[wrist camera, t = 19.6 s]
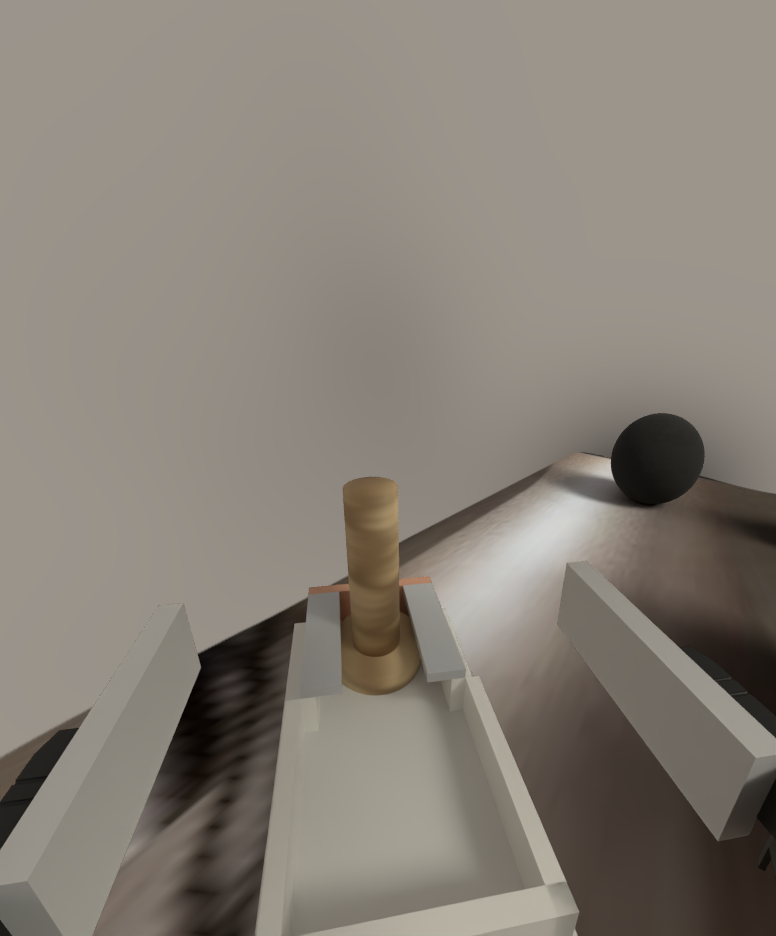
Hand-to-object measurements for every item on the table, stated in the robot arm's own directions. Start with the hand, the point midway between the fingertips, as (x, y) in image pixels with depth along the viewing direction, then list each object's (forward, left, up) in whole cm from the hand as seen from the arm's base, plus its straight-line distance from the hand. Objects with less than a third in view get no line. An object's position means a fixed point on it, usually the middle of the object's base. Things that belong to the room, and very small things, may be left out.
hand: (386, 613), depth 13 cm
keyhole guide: (-1, -8, -18) cm, 20 cm away
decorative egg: (-50, -42, -19) cm, 68 cm away
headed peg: (-1, -15, -17) cm, 23 cm away
